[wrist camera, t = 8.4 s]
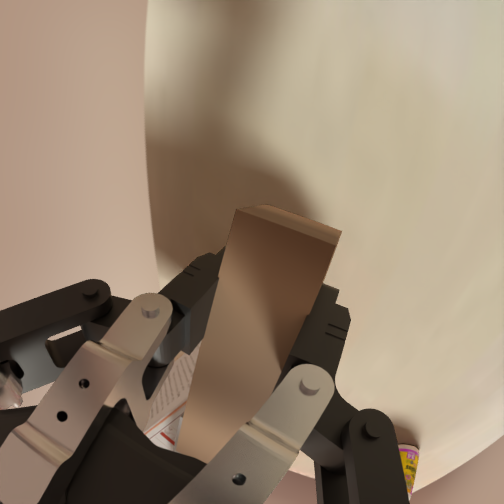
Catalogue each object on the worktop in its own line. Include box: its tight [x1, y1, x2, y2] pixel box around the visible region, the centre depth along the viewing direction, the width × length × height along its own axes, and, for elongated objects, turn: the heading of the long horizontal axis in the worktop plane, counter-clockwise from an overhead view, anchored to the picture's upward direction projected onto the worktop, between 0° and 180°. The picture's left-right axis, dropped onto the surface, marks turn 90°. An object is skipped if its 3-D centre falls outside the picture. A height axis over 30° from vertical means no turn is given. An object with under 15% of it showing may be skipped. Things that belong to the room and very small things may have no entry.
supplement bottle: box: [398, 444, 419, 500], centre depth 33 cm, size 7×7×13 cm
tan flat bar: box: [173, 204, 342, 464], centre depth 12 cm, size 18×5×3 cm, turn 170°
